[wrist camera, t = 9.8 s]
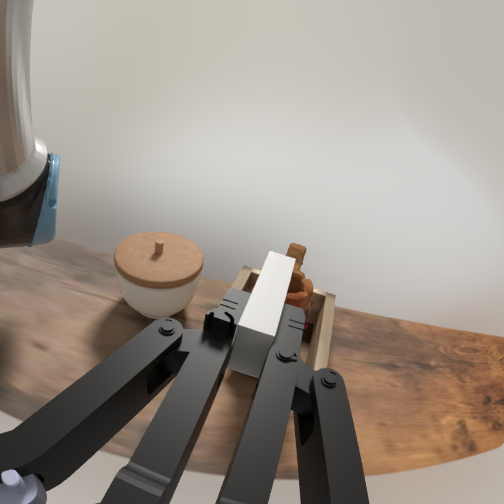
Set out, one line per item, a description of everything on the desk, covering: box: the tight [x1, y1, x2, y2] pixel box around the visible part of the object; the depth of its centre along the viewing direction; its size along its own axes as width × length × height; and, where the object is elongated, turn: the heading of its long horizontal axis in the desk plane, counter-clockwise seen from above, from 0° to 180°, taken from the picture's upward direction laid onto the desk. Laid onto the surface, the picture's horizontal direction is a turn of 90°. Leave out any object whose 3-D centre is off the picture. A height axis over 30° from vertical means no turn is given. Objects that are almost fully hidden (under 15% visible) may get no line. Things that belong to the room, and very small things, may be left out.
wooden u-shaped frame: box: [229, 266, 335, 371], centre depth 45 cm, size 15×16×6 cm
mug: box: [250, 243, 313, 330], centre depth 41 cm, size 15×8×15 cm, turn 163°
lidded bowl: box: [114, 232, 203, 319], centre depth 46 cm, size 13×13×11 cm
